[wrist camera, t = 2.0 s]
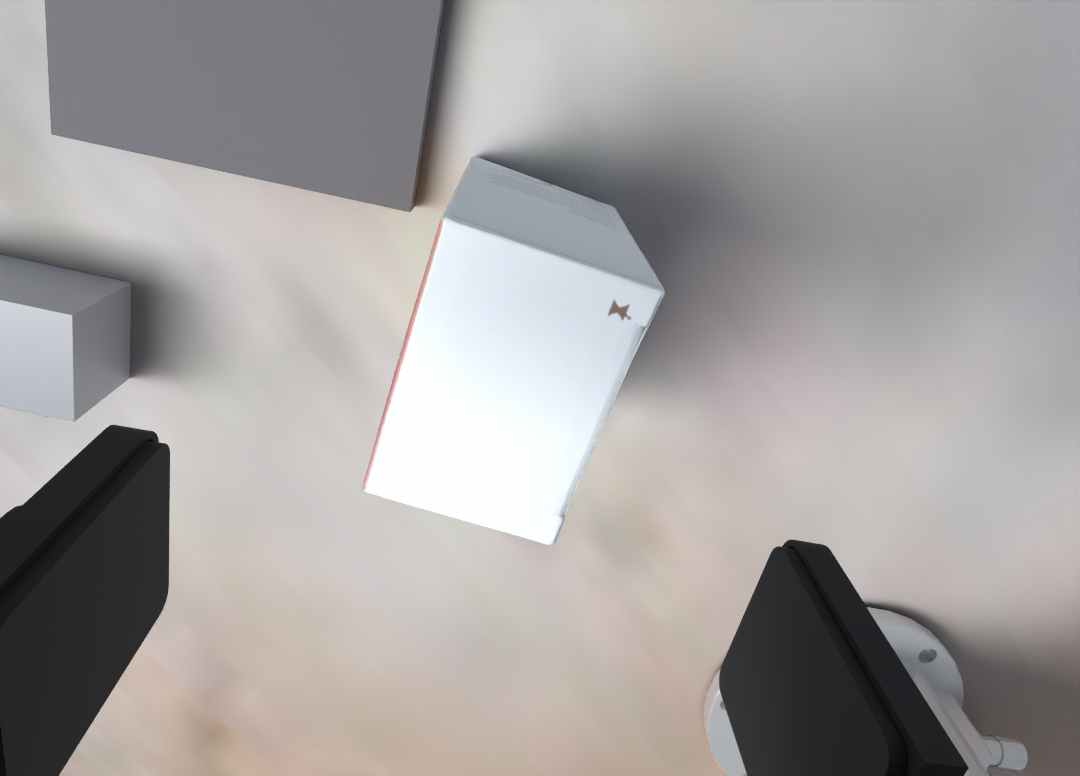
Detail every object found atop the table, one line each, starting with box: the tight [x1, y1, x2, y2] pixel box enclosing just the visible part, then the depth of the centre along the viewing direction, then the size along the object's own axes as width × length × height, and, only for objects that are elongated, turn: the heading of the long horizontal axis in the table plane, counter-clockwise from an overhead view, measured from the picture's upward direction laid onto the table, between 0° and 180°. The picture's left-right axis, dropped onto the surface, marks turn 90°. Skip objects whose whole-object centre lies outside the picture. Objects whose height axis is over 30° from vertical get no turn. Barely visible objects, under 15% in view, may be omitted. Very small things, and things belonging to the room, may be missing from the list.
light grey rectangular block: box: [0, 254, 131, 421], centre depth 26 cm, size 6×4×4 cm, turn 76°
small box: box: [362, 156, 665, 545], centre depth 23 cm, size 8×6×10 cm
